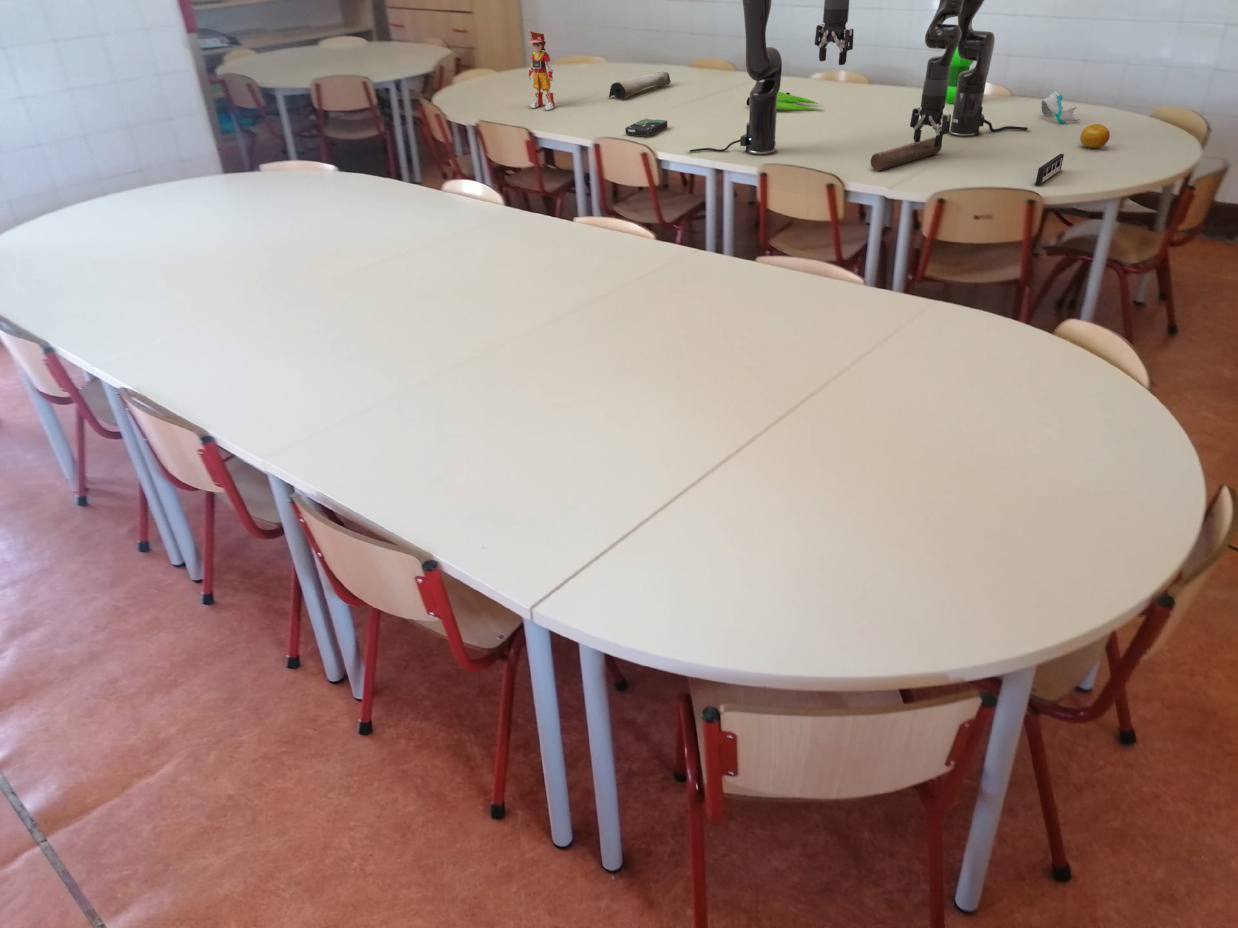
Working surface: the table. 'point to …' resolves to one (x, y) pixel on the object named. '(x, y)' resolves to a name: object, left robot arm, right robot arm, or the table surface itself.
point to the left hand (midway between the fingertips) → (832, 63)
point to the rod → (904, 154)
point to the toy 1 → (541, 71)
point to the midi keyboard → (1049, 169)
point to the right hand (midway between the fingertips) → (926, 144)
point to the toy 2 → (790, 102)
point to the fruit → (1095, 136)
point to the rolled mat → (638, 84)
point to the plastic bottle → (955, 75)
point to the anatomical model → (1057, 108)
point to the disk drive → (646, 127)
